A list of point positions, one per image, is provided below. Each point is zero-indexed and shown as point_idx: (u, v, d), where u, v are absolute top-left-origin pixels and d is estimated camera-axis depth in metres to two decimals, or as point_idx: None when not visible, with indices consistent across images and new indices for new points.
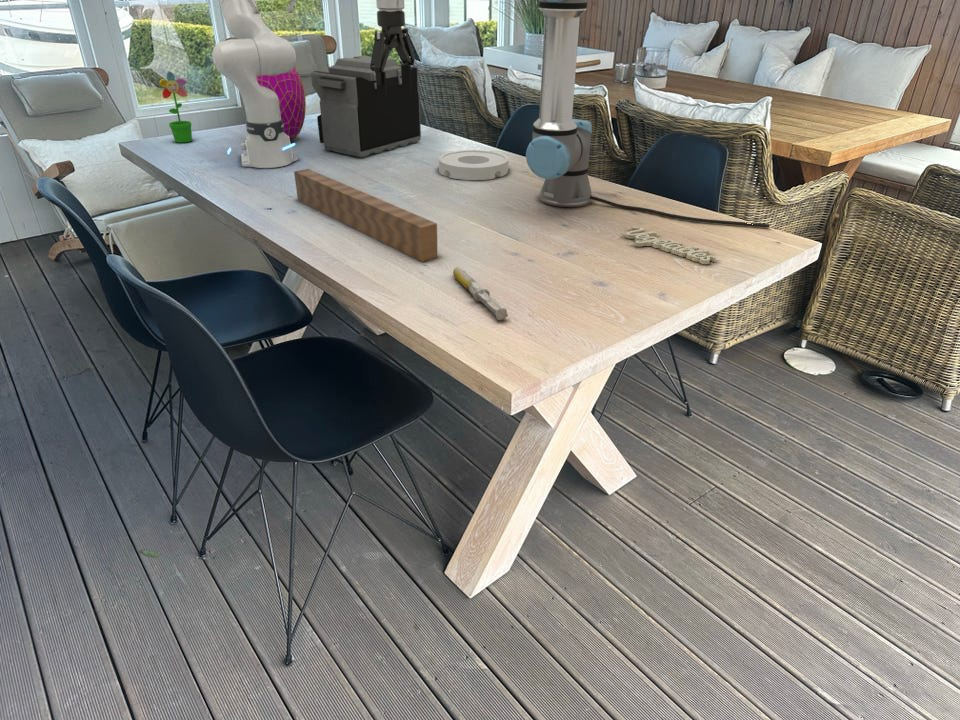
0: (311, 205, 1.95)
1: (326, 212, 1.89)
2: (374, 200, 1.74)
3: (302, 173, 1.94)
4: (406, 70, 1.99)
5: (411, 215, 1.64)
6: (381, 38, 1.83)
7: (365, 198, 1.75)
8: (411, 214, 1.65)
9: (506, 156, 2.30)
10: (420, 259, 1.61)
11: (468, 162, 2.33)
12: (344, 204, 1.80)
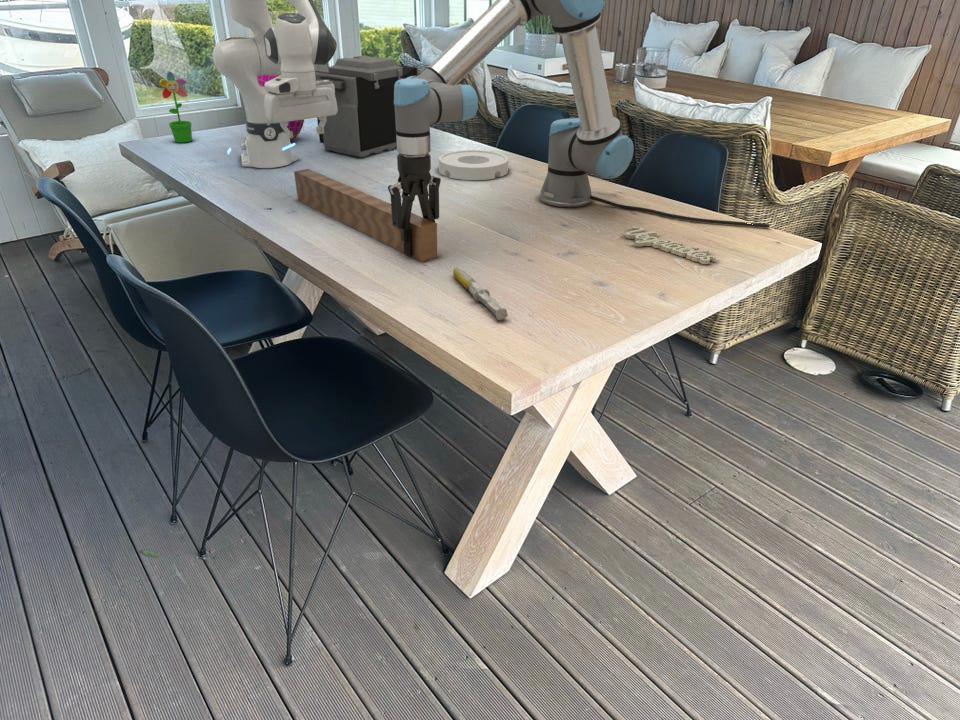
0: (311, 205, 1.95)
1: (326, 212, 1.89)
2: (374, 200, 1.74)
3: (302, 173, 1.94)
4: None
5: (411, 215, 1.64)
6: (394, 195, 1.54)
7: (365, 198, 1.75)
8: (411, 214, 1.65)
9: (506, 156, 2.30)
10: (420, 259, 1.61)
11: (468, 162, 2.33)
12: (344, 204, 1.80)
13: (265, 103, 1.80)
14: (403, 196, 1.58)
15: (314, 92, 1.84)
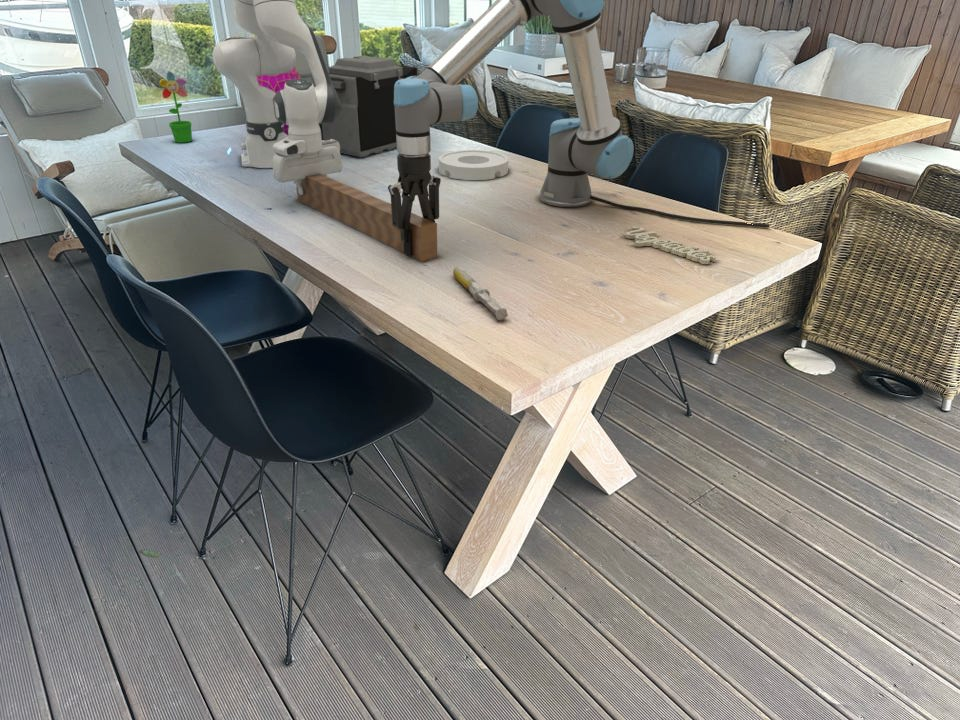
0: (311, 205, 1.95)
1: (326, 212, 1.89)
2: (374, 200, 1.74)
3: None
4: None
5: (411, 215, 1.64)
6: (394, 195, 1.54)
7: (365, 198, 1.75)
8: (411, 214, 1.65)
9: (506, 156, 2.30)
10: (420, 259, 1.61)
11: (468, 162, 2.33)
12: (344, 204, 1.80)
13: (273, 164, 1.88)
14: (403, 196, 1.58)
15: (320, 152, 1.92)
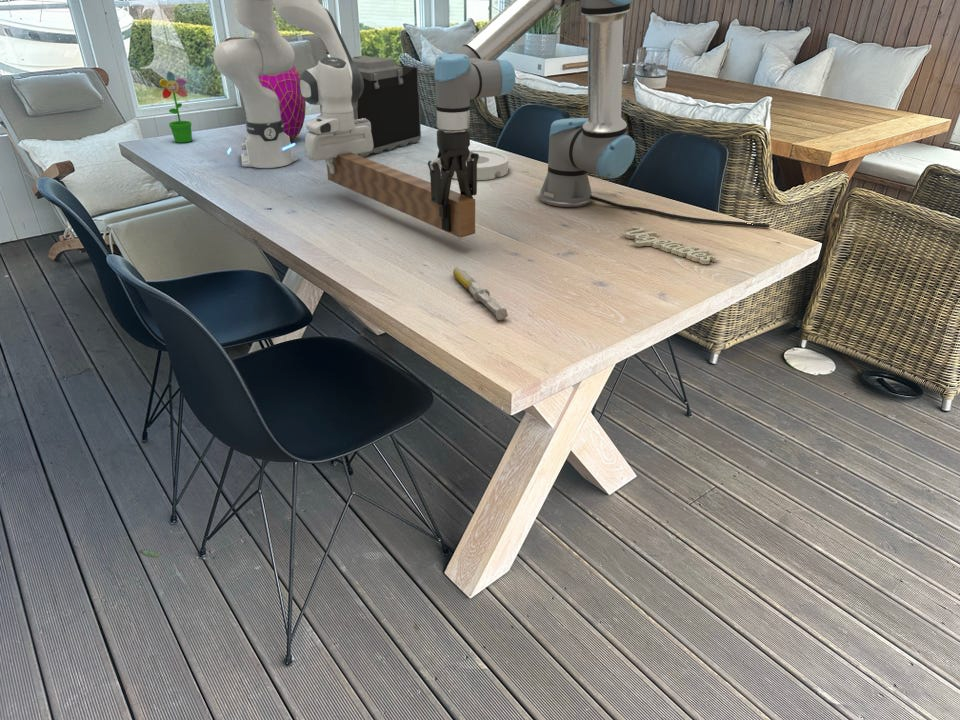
0: (343, 184, 1.96)
1: (359, 191, 1.91)
2: (410, 178, 1.75)
3: None
4: None
5: None
6: (434, 170, 1.55)
7: (400, 175, 1.77)
8: None
9: (506, 156, 2.30)
10: (458, 235, 1.63)
11: None
12: (379, 182, 1.81)
13: (306, 142, 1.89)
14: (442, 172, 1.59)
15: (352, 131, 1.93)
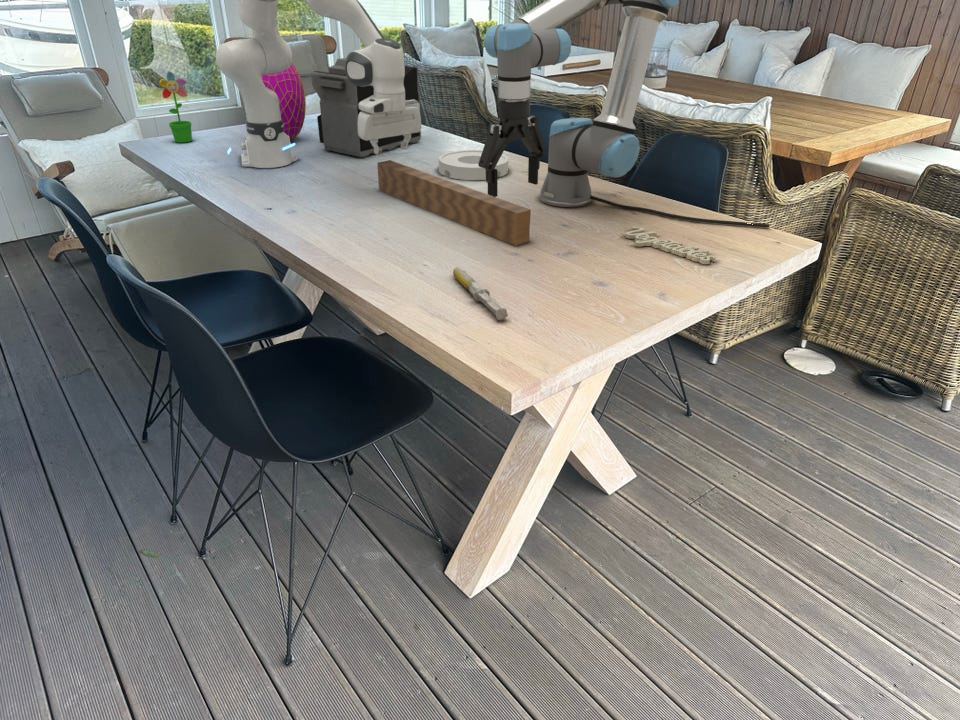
0: (394, 195, 2.04)
1: (411, 201, 1.99)
2: (464, 189, 1.83)
3: (386, 164, 2.04)
4: (533, 162, 1.69)
5: (504, 202, 1.73)
6: (494, 133, 1.57)
7: (454, 186, 1.85)
8: (503, 201, 1.74)
9: (506, 156, 2.30)
10: (514, 243, 1.71)
11: (468, 162, 2.33)
12: (432, 193, 1.89)
13: (359, 121, 1.92)
14: (498, 138, 1.61)
15: (403, 111, 1.97)
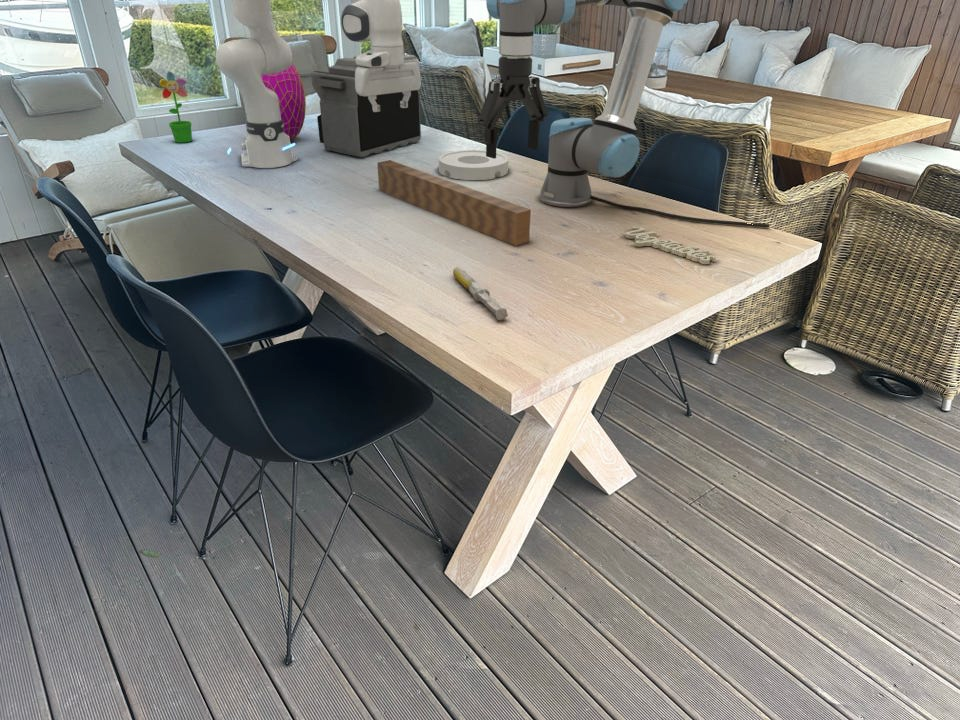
0: (394, 195, 2.04)
1: (411, 201, 1.99)
2: (464, 189, 1.83)
3: (386, 164, 2.04)
4: (533, 126, 1.65)
5: (504, 202, 1.73)
6: (494, 90, 1.52)
7: (454, 186, 1.85)
8: (503, 201, 1.74)
9: (506, 156, 2.30)
10: (514, 243, 1.71)
11: (468, 162, 2.33)
12: (432, 193, 1.89)
13: (356, 77, 1.86)
14: (498, 98, 1.56)
15: (401, 67, 1.91)
